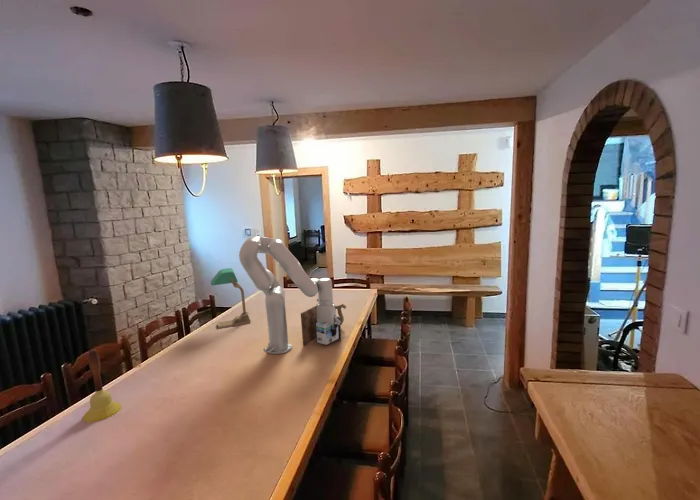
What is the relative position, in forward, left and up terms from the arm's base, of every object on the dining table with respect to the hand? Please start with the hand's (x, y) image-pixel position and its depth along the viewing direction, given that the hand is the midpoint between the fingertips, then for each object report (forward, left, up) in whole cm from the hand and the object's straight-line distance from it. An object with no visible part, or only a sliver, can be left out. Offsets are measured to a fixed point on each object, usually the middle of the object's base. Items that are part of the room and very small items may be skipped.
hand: (327, 334), depth 189 cm
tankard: (+21, +11, -5) cm, 24 cm away
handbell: (-88, +46, -5) cm, 99 cm away
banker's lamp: (+3, +74, -5) cm, 74 cm away
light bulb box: (0, 0, -4) cm, 4 cm away
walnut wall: (0, +10, -5) cm, 12 cm away
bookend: (+7, +3, -5) cm, 9 cm away
